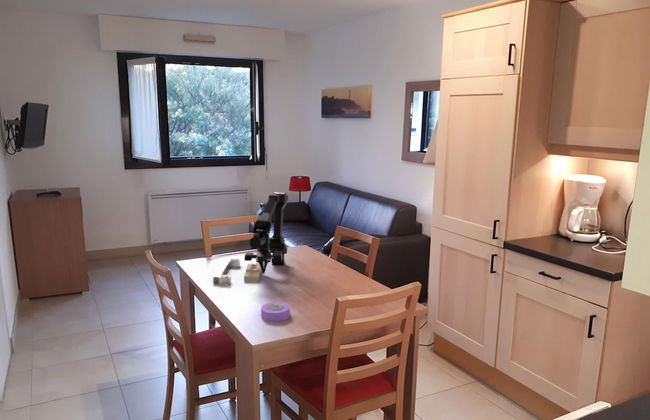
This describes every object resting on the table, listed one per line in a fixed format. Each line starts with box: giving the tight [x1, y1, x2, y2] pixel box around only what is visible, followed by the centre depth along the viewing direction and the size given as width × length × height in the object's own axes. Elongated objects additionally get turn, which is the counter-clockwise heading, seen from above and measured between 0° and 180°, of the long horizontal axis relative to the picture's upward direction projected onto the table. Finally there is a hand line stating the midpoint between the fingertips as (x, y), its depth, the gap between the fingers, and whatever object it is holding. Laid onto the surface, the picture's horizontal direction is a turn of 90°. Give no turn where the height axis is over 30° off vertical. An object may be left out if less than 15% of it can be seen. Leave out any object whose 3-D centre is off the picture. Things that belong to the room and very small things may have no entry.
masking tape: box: [260, 301, 291, 323], centre depth 196 cm, size 12×12×4 cm
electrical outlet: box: [243, 263, 262, 283], centre depth 244 cm, size 7×4×18 cm
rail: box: [212, 258, 241, 286], centre depth 245 cm, size 8×31×4 cm, turn 1°
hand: (263, 272), depth 246 cm, fingers closed
